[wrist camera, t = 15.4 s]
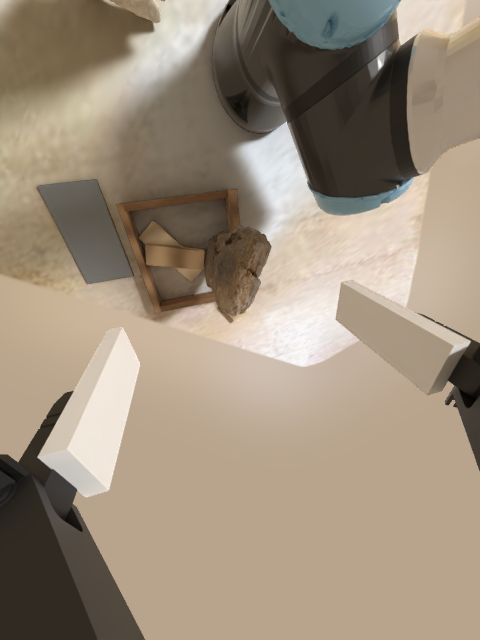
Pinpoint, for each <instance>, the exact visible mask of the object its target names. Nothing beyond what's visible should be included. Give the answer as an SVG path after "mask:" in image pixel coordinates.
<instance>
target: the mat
mask: <svg viewBox="0 0 480 640" xmlns="http://www.w3.org/2000/svg"><path fill="white" fill-rule="evenodd" d="M37 188H38V190H39V191H40V193H41V195H42V197H43V199H44V201H45V203H46V205H47V207H48V209H49V211H50V213H51V215H52V217H53V219H54V220H55V222H56V224H57V226H58V228H59V230H60V232H61V234H62V236H63V238H64V240H65V242H66V244H67V246H68V248H69V249H70V251H71V253H72V255H73V257H74V259H75V261H76V263H77V265H78V267H79V269H80V271H81V273H82V275H83V277H84V278H85V280H86V282H87V284H90V283H96V282H102V281H107V280H113V279H119V278H125V277H131V276H134V275H133V273H132V270H131V267H130V265H129V262H128V260H127V257H126V254H125V252H124V249H123V247H122V244H121V242H120V239H119V236H118V234H117V231H116V229H115V226H114V223H113V221H112V218H111V216H110V213H109V210H108V208H107V205H106V203H105V200H104V198H103V195H102V192H101V190H100V187H99V185H98V182H97V179H94V180H85V181H76V182H67V183H58V184H49V185H40V186H37Z"/></svg>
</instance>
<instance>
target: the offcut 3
mask: <svg viewBox="0 0 480 640" xmlns="http://www.w3.org/2000/svg"><path fill="white" fill-rule="evenodd" d="M247 314H248V312H247V311H245V313H243V314H238V315H236V316H231V315H229V314H228V315H229V316H230V317H231V318H232V319H233V320H234V321H235V323H236V322H238V321H239V320H240V319H242V318H243V317H244V316H246V315H247Z"/></svg>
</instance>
